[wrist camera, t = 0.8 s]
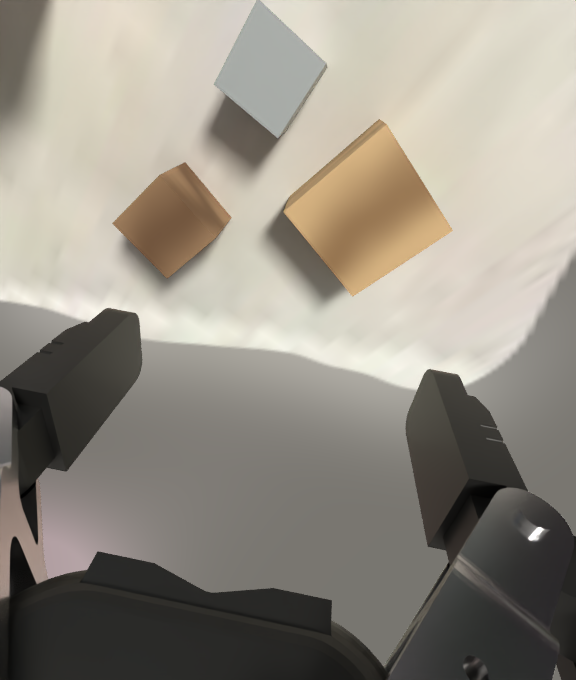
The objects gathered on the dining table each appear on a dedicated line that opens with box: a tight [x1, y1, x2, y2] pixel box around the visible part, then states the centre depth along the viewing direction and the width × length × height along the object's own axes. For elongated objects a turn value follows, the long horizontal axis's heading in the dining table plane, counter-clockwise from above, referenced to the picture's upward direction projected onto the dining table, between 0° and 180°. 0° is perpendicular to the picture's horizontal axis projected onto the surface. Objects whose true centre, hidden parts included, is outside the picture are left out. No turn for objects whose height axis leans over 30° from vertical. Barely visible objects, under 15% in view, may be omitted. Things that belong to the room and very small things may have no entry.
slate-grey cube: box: [214, 0, 327, 138], centre depth 20 cm, size 4×4×4 cm
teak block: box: [284, 119, 453, 297], centre depth 24 cm, size 7×7×4 cm
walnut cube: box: [112, 163, 231, 278], centre depth 25 cm, size 4×4×4 cm
